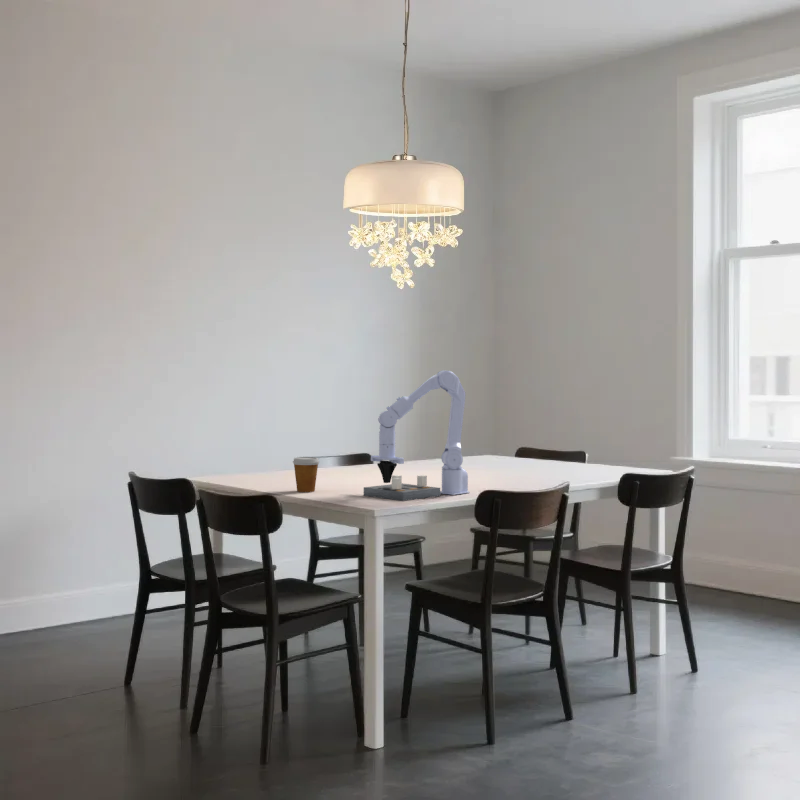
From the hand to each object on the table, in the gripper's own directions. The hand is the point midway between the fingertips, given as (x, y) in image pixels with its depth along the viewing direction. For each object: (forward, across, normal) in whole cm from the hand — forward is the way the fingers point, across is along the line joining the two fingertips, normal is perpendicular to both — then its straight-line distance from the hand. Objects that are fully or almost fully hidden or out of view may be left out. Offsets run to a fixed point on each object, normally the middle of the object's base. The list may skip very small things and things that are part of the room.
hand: (386, 482), depth 369 cm
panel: (+4, +7, 0) cm, 8 cm away
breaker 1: (+1, +11, -6) cm, 13 cm away
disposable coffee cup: (+4, -25, -16) cm, 30 cm away
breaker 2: (+1, +11, +6) cm, 13 cm away
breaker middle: (+1, +5, 0) cm, 5 cm away
